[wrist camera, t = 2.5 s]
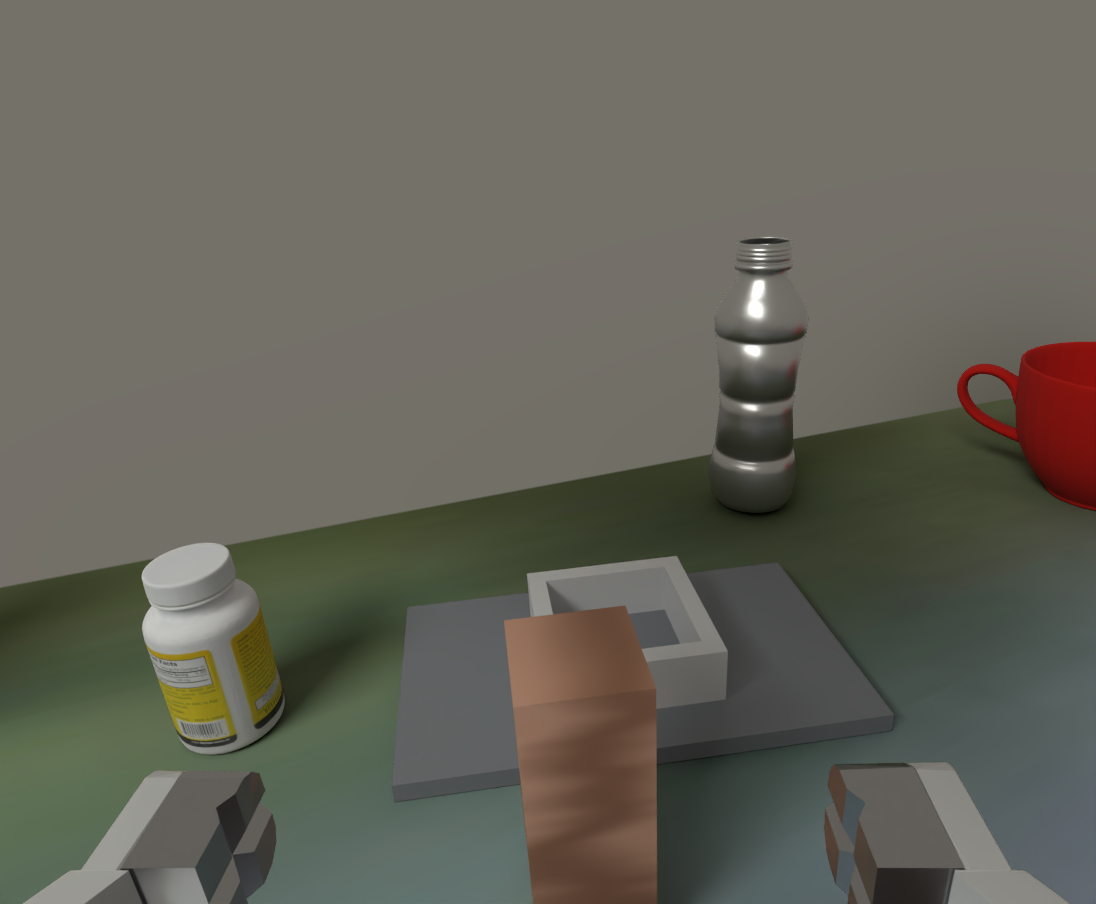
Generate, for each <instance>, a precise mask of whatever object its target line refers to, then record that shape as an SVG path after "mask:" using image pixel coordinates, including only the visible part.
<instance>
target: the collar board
mask: <svg viewBox="0 0 1096 904" xmlns="http://www.w3.org/2000/svg"><path fill="white" fill-rule="evenodd" d="M527 580H528V593H520V594H512V595H504V596H495V597H487V598H479V599H471V600H463V601H454V602H446V603H438V604H430V605H421V606H413V607H407V618H406V630H405V641H404V652H403V663H402V674H401V686H400V697H399V708H398V719H397V731H396V742H395V753H394V764H393V775H392V791H393V796H394V801H395V802H398V801H405V800H412V799H419V798H426V797H433V796H440V795H447V794H454V793H461V792H468V791H475V790H482V789H489V788H496V787H503V786H510V785H517V784H521V782H520V772H519V762H518V753H517V743H516V733H515V724H514V714H513V704H512V694H511V685H510V675H509V665H508V656H507V646H506V636H505V626H504V620H512V619H520V618H528V617H536V616H544V615H552V614H560V613H568V612H576V611H584V610H592V609H600V608H608V607H617V606H626V608H627V611H628V614H629V616H630V619H631V622H632V624H633V627H634V630H635V632H636V635H637V638H638V640H639V643H640V646H641V648H642V651H643V654H644V657H645V659H646V662H647V665H648V667H649V670H650V673H651V675H652V678H653V681H654V683H655V686H656V732H657V764H663V763H670V762H677V761H684V760H691V759H698V758H705V757H712V756H719V755H726V754H733V753H740V752H747V751H754V750H761V749H768V748H775V747H782V746H789V745H796V744H803V743H810V742H817V741H824V740H831V739H837V738H844V737H851V736H858V735H865V734H872V733H879V732H886V731H892V728H893V721H894V713H893V712H892V711H891V709H890V708H889V707H888V706H887V704H886V703H885V702H884V700H883V699H882V698H881V696H880V695H879V694H878V692H877V691H876V690H875V689H874V687H873V686H872V685H871V683H870V682H869V681H868V679H867V678H866V677H865V675H864V674H863V673H862V672H861V670H860V669H859V668H858V666H857V665H856V664H855V662H854V661H853V660H852V659H851V657H850V656H849V655H848V653H847V652H846V651H845V649H844V648H843V647H842V645H841V644H840V643H839V642H838V640H837V639H836V638H835V636H834V635H833V634H832V632H831V631H830V630H829V628H828V627H827V626H826V625H825V623H824V622H823V621H822V619H821V618H820V617H819V615H818V614H817V613H816V611H815V610H814V609H813V608H812V606H811V605H810V604H809V602H808V601H807V600H806V598H805V597H804V596H803V594H802V593H801V592H800V591H799V589H798V588H797V587H796V585H795V584H794V583H793V581H792V580H791V579H790V577H789V576H788V575H787V574H786V572H785V571H784V570H783V568H782V567H781V566H780V564H779V563H778V562H776V563H767V564H759V565H751V566H743V567H734V568H726V569H718V570H710V571H702V572H693V573H686V572H685V571H684V569H683V567H682V565H681V563H680V561H679V559H678V558H677V556H671V557H663V558H655V559H646V560H638V561H629V562H621V563H613V564H604V565H596V566H587V567H579V568H571V569H562V570H554V571H545V572H537V573H529V574H527Z"/></svg>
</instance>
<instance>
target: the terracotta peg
mask: <svg viewBox="0 0 1096 904" xmlns="http://www.w3.org/2000/svg"><path fill="white" fill-rule="evenodd" d="M504 626H505V636H506V646H507V656H508V665H509V675H510V685H511V694H512V704H513V714H514V724H515V733H516V743H517V753H518V762H519V772H520V782H521V792H522V801H523V811H524V821H525V830H526V840H527V850H528V859H529V869H530V878H531V887H532V896H533V904H657V732H656V686H655V683H654V681H653V678H652V675H651V673H650V670H649V667H648V665H647V662H646V659H645V657H644V654H643V651H642V648H641V646H640V643H639V640H638V638H637V635H636V632H635V630H634V627H633V624H632V622H631V619H630V616H629V614H628V611H627V608H626V606H617V607H608V608H600V609H592V610H584V611H576V612H568V613H560V614H552V615H544V616H536V617H528V618H520V619H512V620H504Z"/></svg>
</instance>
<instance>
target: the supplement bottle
mask: <svg viewBox="0 0 1096 904" xmlns="http://www.w3.org/2000/svg"><path fill="white" fill-rule="evenodd" d="M235 578H236V574H235V567H234V564H233V561H232V558H231V554H230V552H229V550H228V549H227V548H226V547H225V546H223V545H221V544H217V543H199V544H192V545H187V546H183V547H180V548H177V549H174V550H171V551H169V552H167V553H164V554H162V555H160V556H159V557H157V558H155V559H154V560H153V561H151V562H150V563H149V564H148V565H147V566H146V567H145V569H144V570H143V572H142V582H143V585H144V588H145V592H146V595H147V598H148V599H149V602H150V604H151V605H152V606H151V608H150V609H149V610H148V612H147V613H146V616H145V618H144V620H143V626H142V631H143V636H144V640H145V643H146V646H147V649H148V652H149V654H150V657H151V660H152V663H153V666H154V669H155V672H156V674H157V677H158V680H159V683H160V686H161V689H162V691H163V694H164V697H165V700H166V703H167V706H168V709H169V711H170V714H171V717H172V720H173V723H174V725H175V728H176V731H177V733H178V736H179V738H180V740H181V741H182V743H183V744H184V745H185V746H186V747H187V748H188V749H190V750H191V751H194V752H196V753H200V754H208V755H216V754H223V753H228V752H232V751H235V750H238V749H240V748H243V747H245V746H247V745H249V744H251V743H253V742H254V741H256V740H258V739H259V738H261V737H262V736H263V735H265V734H266V733H267V732H268V731H269V730H270V729H271V728H272V727H273V726H274V725H275V724H276V723H277V721H278V720H279V718H280V717H281V715H282V712H283V709H284V704H285V698H284V692H283V688H282V684H281V681H280V677H279V674H278V670H277V667H276V663H275V660H274V656H273V652H272V648H271V644H270V641H269V637H268V633H267V629H266V626H265V623H264V619H263V615H262V611H261V607H260V603H259V600H258V598H257V595H256V593H255V591H254V590H253V589H252V587H251V586H249V585H248V584H247V583H245V582H243V581H241V580H239V579H235Z"/></svg>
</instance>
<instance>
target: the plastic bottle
mask: <svg viewBox="0 0 1096 904" xmlns="http://www.w3.org/2000/svg"><path fill="white" fill-rule="evenodd" d="M791 255H792V240H791V239H789V238H782V237H752V238H745V239H741V240H738V241H737V255H736V256H737V257H736V261H735V269H737V270H739V274H738V278H737V279H736V280H735V282H734V283H733V284H732V286H731V287H730V288H729V290H728V291H727V292H726V294H725V296H724V297H723V299H722V301H721V302H720V304H719V305H718V308H717V312H716V315H715V332H716V344H717V353H718V362H719V379H720V380H719V387H720V389H721V391H720V407H719V415H718V424H717V431H716V439H715V445H714V447H713V451H712V454H711V460H710V465H709V478H710V485H711V489H712V492H713V493H714V495H715V496H716V498H717V499H718V500H719V501H720V503H722V504H723V505H725V506H727V507H729V508H731V509H734V510H738V511H742V512H749V513H763V512H770V511H773V510H776V509H778V508H780V507H781V506H783V505H784V504H785V503H786V501H787V500H788V499H789V498H790V497H791V495H792V491H793V488H794V484H795V481H796V461H795V454H794V449H793V402H794V394H793V393H794V391H795V388H796V380H797V373H798V367H799V363H800V359H801V354H802V350H803V346H804V341H805V337H806V335H805V334H806V333H807V327H808V321H809V318H808V313H807V309H806V305H805V303H804V301H803V299H802V298H801V296H800V294H799V292H798V291H797V289H796V288H795V286H794V285H793V283H792V282H791V281H790V279H789V278H788V273H787V271H788V270H789V269H791V268H792V266H793V261H792V260H791Z"/></svg>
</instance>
